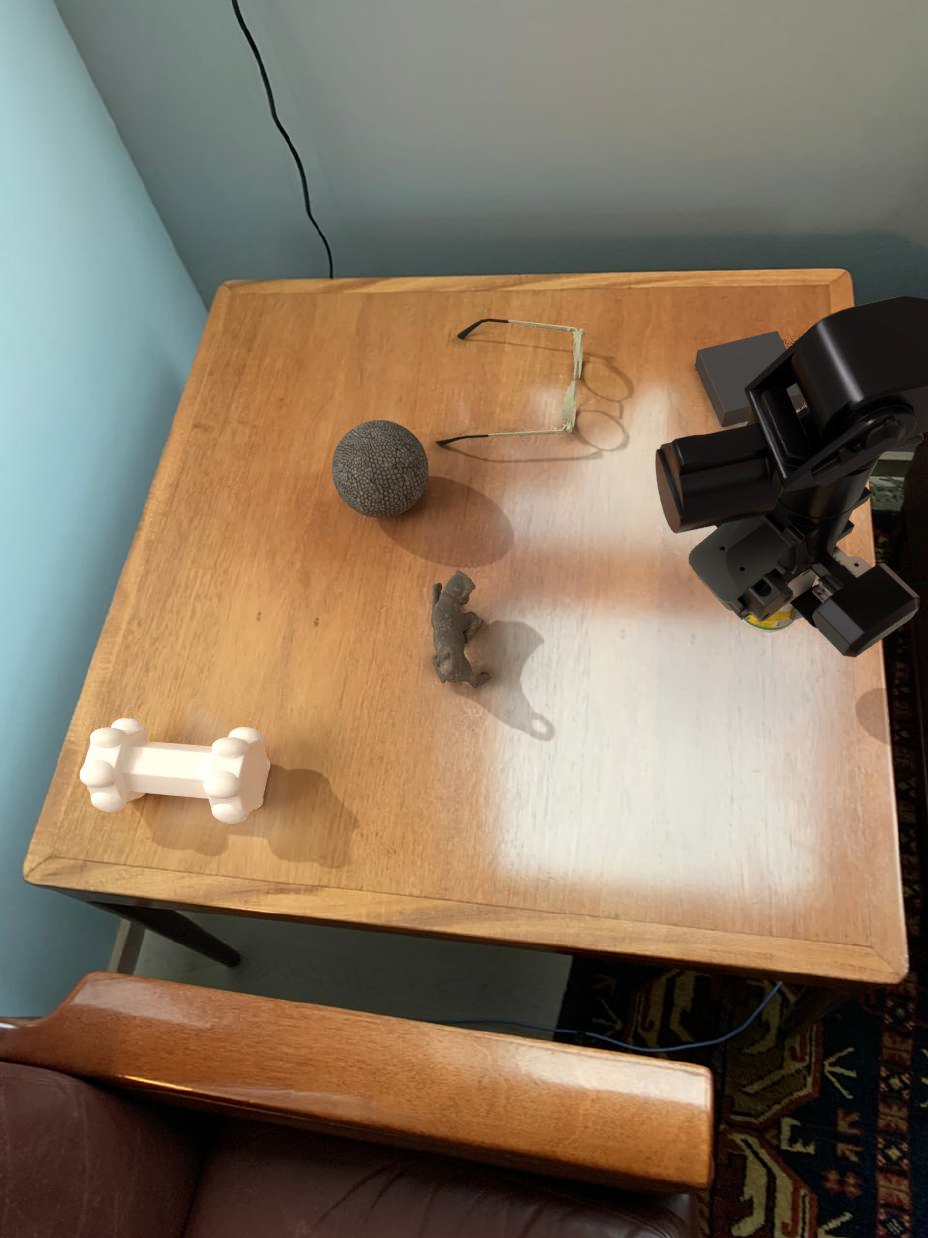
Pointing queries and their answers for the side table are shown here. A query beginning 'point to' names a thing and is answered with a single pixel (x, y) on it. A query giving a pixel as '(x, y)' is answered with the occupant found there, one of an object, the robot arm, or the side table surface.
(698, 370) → the block
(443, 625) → the dog figurine
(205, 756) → the dog bone
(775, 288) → the side table surface
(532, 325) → the eyeglasses
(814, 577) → the supplement bottle
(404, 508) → the decorative ball
